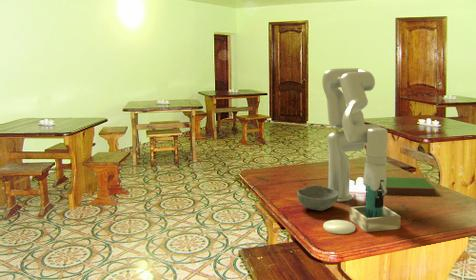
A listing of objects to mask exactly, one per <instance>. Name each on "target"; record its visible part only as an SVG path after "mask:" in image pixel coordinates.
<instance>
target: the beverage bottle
mask: <svg viewBox="0 0 476 280" xmlns="http://www.w3.org/2000/svg"><path fill="white" fill-rule="evenodd" d="M380 189H381V188H379V189H378V190H380ZM379 193H381V191H378V194H379ZM375 198H376V193H375V191H373V190H371V189H370V186H369V185H368V184H367V192H366V191H365V201H366V202H365V206H366V212H365V213H366V214H365V215H366V217H367V218H375V217H382V209H383V208H375Z"/></svg>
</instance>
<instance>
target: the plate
mask: <svg viewBox="0 0 476 280" xmlns="http://www.w3.org/2000/svg"><path fill="white" fill-rule="evenodd" d="M322 227H323V229H324V230H325V231H326V232H328V233H331V234H335V235H349V234H352V233H354V232H355V231H356V224H355V223H354V222H353V223H352V221H347V220H343V219H331V220H327V221H325V222H324V223H323V226H322Z"/></svg>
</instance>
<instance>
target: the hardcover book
mask: <svg viewBox="0 0 476 280" xmlns="http://www.w3.org/2000/svg"><path fill="white" fill-rule="evenodd" d="M386 190H387V193H386V194H385V195H403V196H405V195H409V196H412V195H413V196H435V195H436V188H435V186H433V185H432V184H431V183H430V182H429V181H428V180H427V179H426V178H425V177H424V178H423V177H387V176H386Z"/></svg>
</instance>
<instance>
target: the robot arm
mask: <svg viewBox="0 0 476 280" xmlns="http://www.w3.org/2000/svg"><path fill="white" fill-rule="evenodd" d="M375 80H376V79H375V77H374V75H373V74H372V73H371V72H370V71H368V70H365V69H362V68H356V67H353V68H352V67H350V68H348V67H347V68H330V69H327V70H326V71H324V73H323V74H322V83H321V84H322V88H323V92H324V95H325V98H326V105H327V115H328V116H327V117H328V124H329V126H330V128H333V129H342V130H339V131H338V130H337V131H332V132H330V133H329V134H328V135H327V138H326V145H327V151H328V183H327V184H328V186H327V188H330V189H333V190H336V191H338V198H337V201H336V202H349V201H351V200H352V199H353V195H352V193H350V173H351V171H350V170H351V169H350V165H351V162H350V158H349V157H348V156H347V154H346V153H347V152H359V151H362V150H364V149H365V146H366V149H365V163H364V169H363V178H362V179H363V180H362V184H363V185H364V187H365V193H366V192H367V184H368V185H369V186H370V189H371V190H373V191H375V193H376V198H375V208H382V207H383V206H384V199H385V196H386V195H387V194H386V193H387V190H386V177H387V167H386V165H387V155H388V153H387V152H388V136H389V135H388V134H389V133H388V130H387V128H385V127H381V126H380V125H379V124H376V123H375V124H374V123H373V124H372V123H371V124H365V117H364V112H363V111H362V110H364V108H366V107H367V106H368V104H369V100H368V97H367V94H366V92H371V91H372V90H373V89H374V88H375V85H376V81H375ZM340 88H341V89H340ZM379 188H381V189H380V190H378V189H379ZM378 191H381V193H379V194H378Z"/></svg>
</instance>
